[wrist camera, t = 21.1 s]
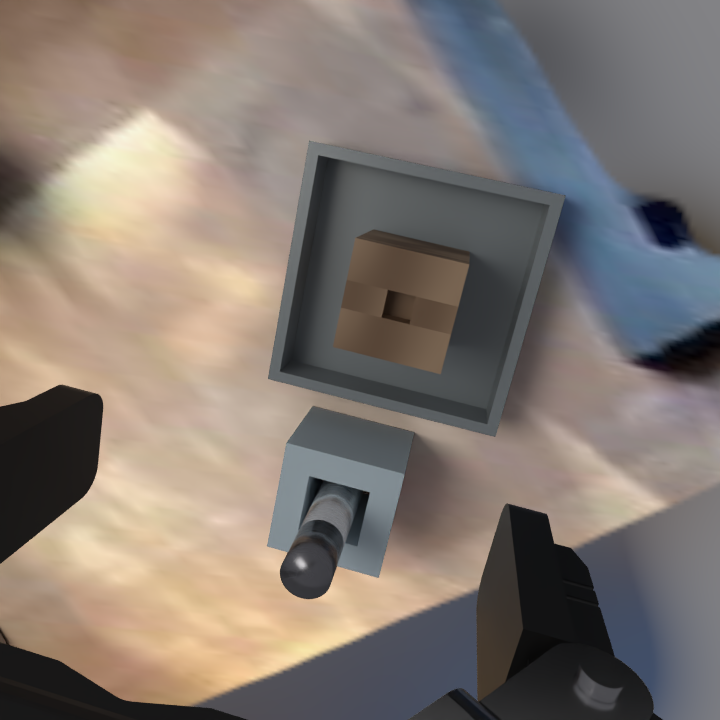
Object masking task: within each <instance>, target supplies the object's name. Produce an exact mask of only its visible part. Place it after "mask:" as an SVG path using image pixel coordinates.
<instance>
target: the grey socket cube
mask: <svg viewBox="0 0 720 720" xmlns="http://www.w3.org/2000/svg"><path fill="white" fill-rule="evenodd" d="M413 436H414V432H411V431H407V430H404V429H400V428H396V427H392V426H388V425H384V424H380V423H376V422H373V421H369V420H365V419H361V418H357V417H353V416H349V415H345V414H341V413H338V412H334V411H330V410H326V409H322V408H318V407H314V406H313V407H312V408H311V409H310V411H309V412H308V414H307V415H306V416H305V418H304V419H303V421H302V422H301V423H300V425H299V426H298V428H297V429H296V430H295V432H294V433H293V435H292V436H291V437H290V439H289V440H288V442H287V443H286V448H285V454H284V459H283V464H282V470H281V475H280V480H279V486H278V491H277V496H276V502H275V507H274V512H273V518H272V523H271V528H270V534H269V539H268V544H267V546H268V547H271V548H275V549H278V550H282V551H285V552H288V551H289V549H290V547H291V545H292V543H293V541H294V539H295V537H296V535H297V533H298V531H299V529H300V527H301V525H302V523H303V521H304V519H305V517H306V515H307V513H308V511H309V509H310V507H311V505H312V503H313V501H314V499H315V497H316V495H317V493H318V491H319V489H320V487H321V485H322V480H326V481H330V482H333V483H337V484H341V485H345V486H348V487H352V488H356V489H359V490H363V491H367V492H370V495H367V494H362V497H361V500H360V502H359V505H358V508H357V511H356V514H355V517H354V519H353V522H352V525H351V528H350V531H349V533H348V536H347V539H346V542H345V545H344V548H343V550H342V553H341V556H340V559H339V562H338V565H337V566H338V567H342V568H345V569H349V570H352V571H356V572H360V573H363V574H367V575H370V576H374V577H377V578H379V575H380V571H381V567H382V563H383V559H384V555H385V551H386V547H387V543H388V539H389V535H390V531H391V527H392V523H393V519H394V515H395V511H396V507H397V503H398V499H399V495H400V491H401V487H402V483H403V479H404V475H405V471H406V466H407V462H408V458H409V453H410V449H411V445H412V440H413Z"/></svg>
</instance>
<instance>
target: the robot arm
mask: <svg viewBox="0 0 720 720" xmlns="http://www.w3.org/2000/svg"><path fill="white" fill-rule="evenodd" d="M102 415H103V401H102V398H101V396H100V395H98V394H96V393H92V392H88V391H84V390H81V389H77V388H73V387H69V386H66V385H58V386H56V387H54V388H52V389H50V390H48V391H46V392H44V393H41V394H39V395H37V396H35V397H33V398H31V399H29V400H27V401H24V402H20V403H15V404H10V405H6V406H1V407H0V564H1V563H2V562H3V561H4V560H6V559H7V558H8V557H9V556H11V555H12V554H13V553H14V552H16V551H17V550H18V549H19V548H21V547H22V546H23V545H24V544H26V543H27V542H28V541H29V540H30V539H32V538H33V537H34V536H35V535H37V534H38V533H39V532H40V531H42V530H43V529H44V528H45V527H47V526H48V525H49V524H50V523H52V522H53V521H54V520H55V519H57V518H58V517H59V516H60V515H62V514H63V513H64V512H65V511H66V510H68V509H69V508H70V507H71V506H73V505H74V504H75V503H76V502H78V501H79V500H80V499H81V498H83V497H84V496H85V494H86V493H87V492H88V490H89V489H90V487H91V485H92V483H93V481H94V479H95V476H96V472H97V467H98V458H99V447H100V437H101V426H102ZM593 588H594V587H593V583H592V580H591V577H590V573H589V570H588V568H587V566H586V565H585V564H584V563H583V562H582V560H581V559H580V558H579V557H578V556H577V555H576V553H575V552H574V551H573V550H572V549H571V548H569V547H565V546H561V545H557V544H554V541H553V537H552V532H551V528H550V524H549V519H548V516H547V514H545V513H541V512H537V511H533V510H530V509H526V508H522V507H518V506H515V505H511V504H506V505H505V506H504V508H503V511H502V513H501V516H500V519H499V523H498V526H497V529H496V532H495V536H494V539H493V542H492V546H491V549H490V552H489V555H488V559H487V562H486V565H485V568H484V572H483V575H482V579H481V583H480V587H479V593H478V600H477V685H478V686H477V693H478V701H477V700H476V699H474V698H473V697H472V696H471V695H470V694H469V693H468V692H466V691H465V690H464V689H462V688H458V689H454V690H452V691H450V692H448V693H447V694H445V695H444V696H442V697H441V698H439V699H438V700H436V701H435V702H434V703H432V704H430V705H429V706H427V707H426V708H424V709H423V710H422V711H420V712H419V713H418V714H416V715H414V716H413V717H411V718H410V719H408V720H662V719H661V718H660V717H658V716H657V715H655V714H654V713H653V710H654V704H653V699H652V696H651V694H650V692H649V690H648V688H647V686H646V685H645V683H644V682H643V681H642V679H640V677H639V676H638V675H637V674H636V673H635V672H634V671H633V670H632V669H631V668H629V667H628V666H627V665H626V664H625V663H623V662H622V661H621V660H619V659H617V658H616V657H615V656H614V653H613V649H612V646H611V642H610V639H609V636H608V633H607V629H606V626H605V623H604V619H603V616H602V613H601V610H600V608H599V607H598V604H599V603H598V600H597V597H596V593H595V591H593ZM0 720H246V719H243V718H240V717H237V716H233V715H230V714H227V713H224V712H221V711H218V710H214V709H212V708H201V707H189V706H177V705H165V704H153V703H141V702H131V701H125V700H122V699H120V698H118V697H116V696H114V695H113V694H111V693H110V692H108V691H106V690H105V689H103V688H102V687H100V686H98V685H97V684H95V683H94V682H92V681H90V680H89V679H87V678H86V677H84V676H83V675H81V674H79V673H78V672H76V671H75V670H73V669H71V668H70V667H68V666H67V665H65V664H64V663H62V662H60V661H58V660H55V659H52V658H49V657H45V656H42V655H39V654H36V653H33V652H29V651H26V650H23V649H20V648H17V647H13V646H10V645H7V644H6V642H5V640H4V638H3V637H2V635H1V633H0Z"/></svg>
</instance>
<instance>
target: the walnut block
mask: <svg viewBox="0 0 720 720" xmlns="http://www.w3.org/2000/svg"><path fill="white" fill-rule="evenodd" d="M469 259H470V252H469V251H465V250H460V249H456V248H452V247H447V246H443V245H439V244H435V243H430V242H426V241H422V240H417V239H413V238H409V237H404V236H400V235H396V234H391V233H387V232H383V231H378V230H374V229H373V230H371V231H369V232H367V233H365V234H363V235H360V236H358V237H356V238H355V242H354V247H353V252H352V256H351V261H350V266H349V271H348V276H347V281H346V285H345V290H344V295H343V300H342V305H341V310H340V314H339V319H338V324H337V329H336V334H335V339H334V343H333V347H335V348H339V349H343V350H347V351H350V352H354V353H358V354H362V355H366V356H370V357H374V358H378V359H382V360H386V361H390V362H394V363H398V364H402V365H406V366H410V367H414V368H418V369H422V370H426V371H430V372H434V373H438V374H441V371H442V367H443V363H444V359H445V356H446V352H447V348H448V344H449V340H450V336H451V333H452V329H453V325H454V321H455V317H456V314H457V310H458V306H459V302H460V298H461V294H462V291H463V287H464V283H465V279H466V275H467V272H468V268H469Z"/></svg>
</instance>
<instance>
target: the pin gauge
mask: <svg viewBox="0 0 720 720" xmlns="http://www.w3.org/2000/svg"><path fill="white" fill-rule="evenodd" d="M362 494H363V490H359V489H356V488H352V487H348V486H345V485H341V484H337V483H333V482H330V481H326V480H324V481H323V483H322V485H321V487H320V489H319V491H318V493H317V495H316V497H315V499H314V501H313V503H312V505H311V507H310V509H309V511H308V513H307V515H306V517H305V519H304V521H303V523H302V525H301V527H300V529H299V531H298V533H297V535H296V537H295V539H294V541H293V543H292V545H291V547H290V549H289V551H288V553H287V555H286V557H285V559H284V561H283V563H282V565H281V569H280V577H281V581H282V583H283V585H284V586H285V588H286V589H287V590H288V591H289V592H290V593H292V594H293V595H295V596H297V597H300V598H303V599H314V598H318V597H320V596H322V595H323V594H325V593H326V592H327V590H328V589H329V587H330V584H331V582H332V579H333V576H334V573H335V570H336V567H337V565H338V562H339V559H340V556H341V553H342V550H343V548H344V545H345V542H346V539H347V536H348V533H349V531H350V528H351V525H352V522H353V519H354V517H355V514H356V511H357V508H358V505H359V502H360V500H361V497H362Z"/></svg>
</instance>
